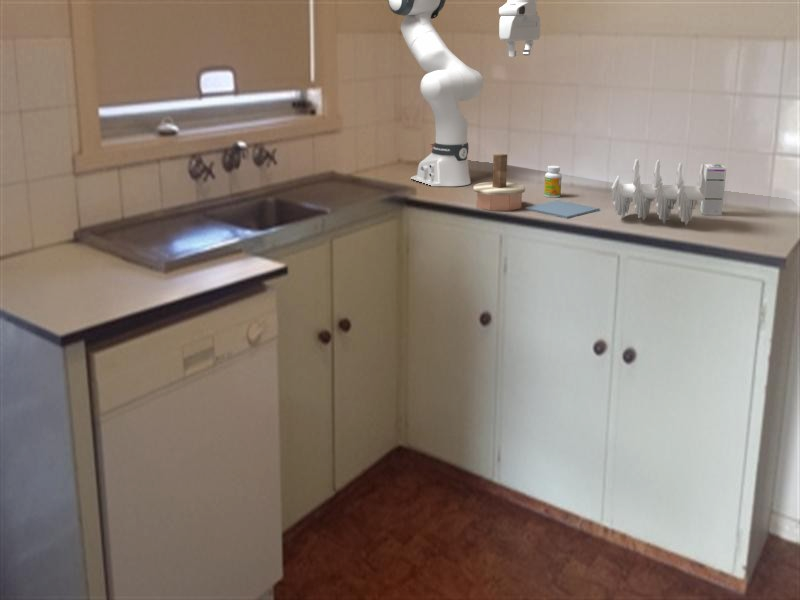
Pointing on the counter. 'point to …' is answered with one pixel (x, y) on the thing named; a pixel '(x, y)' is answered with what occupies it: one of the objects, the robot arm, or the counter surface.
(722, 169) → the syrup box
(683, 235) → the counter surface
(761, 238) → the counter surface
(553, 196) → the supplement bottle
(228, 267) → the counter surface
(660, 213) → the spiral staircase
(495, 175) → the lid
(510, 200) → the bowl
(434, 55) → the robot arm
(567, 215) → the mat
